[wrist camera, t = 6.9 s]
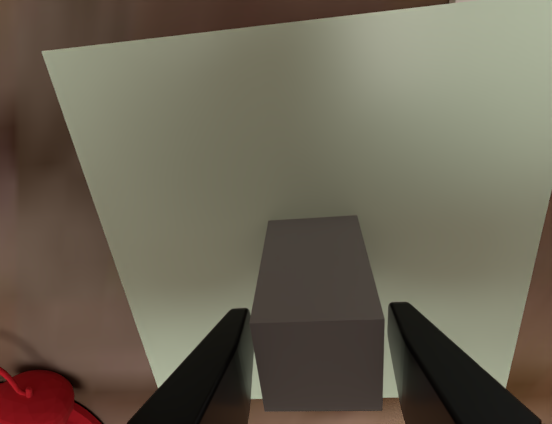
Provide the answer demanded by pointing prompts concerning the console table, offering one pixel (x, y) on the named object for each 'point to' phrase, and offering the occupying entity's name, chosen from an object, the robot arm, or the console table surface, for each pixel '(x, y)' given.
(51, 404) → the alarm clock
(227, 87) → the cover sheet
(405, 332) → the robot arm
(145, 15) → the console table surface
